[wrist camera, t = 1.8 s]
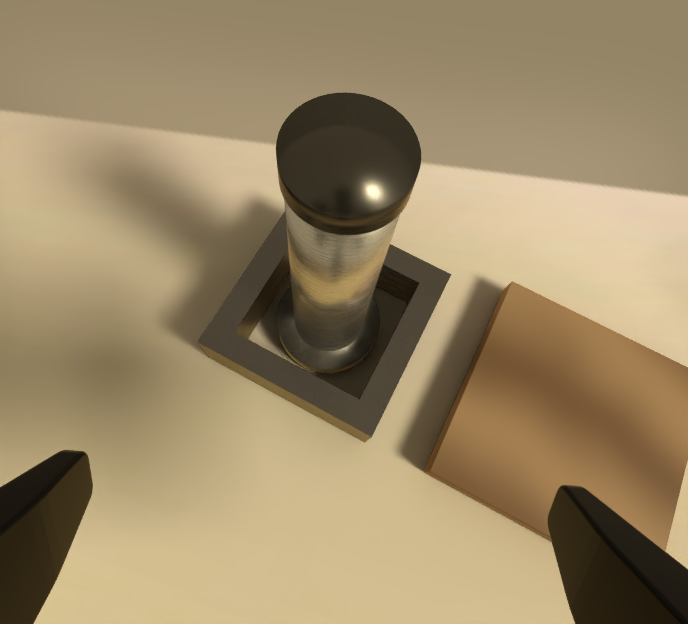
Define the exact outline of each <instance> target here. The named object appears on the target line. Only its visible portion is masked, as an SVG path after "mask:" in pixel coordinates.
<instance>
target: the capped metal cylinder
mask: <svg viewBox="0 0 688 624" xmlns="http://www.w3.org/2000/svg"><path fill="white" fill-rule="evenodd" d="M276 156H277V167H278V177H279V185H280V189H281V192H282V195H283V197H284V200H285V213H286V225H287V237H288V249H289V261H290V273H291V287H290V288H289V289H288V290H287V291H286V293H285V294H284V296H283V298H282V299H281V302H280V304H279V308H278V312H277V326H278V332H279V336H280V340H281V343H282V345H283V347H284V349H285V351H286V352H287V353H288V355H289V356H290V357H291V358H292V359H293V360H294V361H295V362H296V363H298V364H299V365H301V366H302V367H304V368H306V369H309V370H311V371H315V372H319V373H337V372H342V371H345V370H347V369H350V368H352V367H353V366H355V365H357V364H358V363H359V362H361V361H362V360H363V359H364V358H365V357H366V355H367V354H368V353H369V351H370V350H371V348H372V346H373V344H374V341H375V339H376V337H377V334H378V330H379V311H378V307H377V304H376V302H375V300H374V298H373V296H372V295H373V292H374V289H375V286H376V283H377V280H378V277H379V274H380V271H381V269H382V266H383V263H384V260H385V257H386V254H387V251H388V248H389V245H390V242H391V239H392V236H393V233H394V230H395V227H396V224H397V221H398V218H399V215H400V213H401V212H402V211H403V209H404V208H405V206H406V205H407V202H408V200H409V198H410V195H411V192H412V190H413V187H414V184H415V181H416V178H417V175H418V172H419V169H420V164H421V149H420V144H419V141H418V138H417V135H416V133H415V132H414V129H413V128H412V126H411V125H410V123H409V122H408V121H407V120H406V119H405V118H404V116H403V115H401V114H400V113H399V112H398V111H397V110H396V109H394V108H393V107H391V106H390V105H388V104H386V103H384V102H382V101H380V100H378V99H375V98H373V97H369V96H366V95H361V94H356V93H334V94H327V95H323V96H319V97H317V98H314V99H312V100H309V101H307V102H305V103H304V104H302V105H301V106H299V107H298V108H297V109H295V110H294V111H293V112H292V113H291V114H290V115H289V116H288V118H287V119H286V120H285V122H284V123H283V125H282V127H281V129H280V131H279V134H278V138H277V143H276Z"/></svg>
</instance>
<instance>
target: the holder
mask: <svg viewBox="0 0 688 624" xmlns="http://www.w3.org/2000/svg"><path fill="white" fill-rule="evenodd" d="M289 273H290V261H289V249H288V237H287V225H286V213H285V212H284V214H283V215H282V217H281V218H280V220H279V221H278V223H277V224H276V226H275V227H274V229H273V230H272V232H271V233H270V235H269V236H268V238H267V239H266V241H265V242H264V244H263V245H262V247H261V248H260V250H259V251H258V253H257V254H256V256H255V257H254V259H253V260H252V261H251V263H250V264H249V266H248V267H247V269H246V270H245V272H244V273H243V275H242V276H241V278H240V279H239V281H238V282H237V284H236V285H235V287H234V288H233V290H232V291H231V293H230V294H229V296H228V297H227V299H226V300H225V302H224V303H223V305H222V306H221V308H220V309H219V311H218V312H217V314H216V315H215V317H214V318H213V320H212V321H211V323H210V324H209V326H208V327H207V329H206V330H205V332H204V333H203V335H202V336H201V338H200V339H199V341H198V344H199V345H200V346H201V348H202V349H203V350H204V351H205V353H206V354H207V355H208V357H209V358H211V359H213V360H215V361H217V362H219V363H220V364H222V365H224V366H226V367H228V368H230V369H231V370H233V371H235V372H237V373H239V374H241V375H242V376H244V377H246V378H248V379H250V380H252V381H253V382H255V383H257V384H259V385H261V386H263V387H264V388H266V389H268V390H270V391H272V392H273V393H275V394H277V395H279V396H281V397H283V398H284V399H286V400H288V401H290V402H292V403H294V404H295V405H297V406H299V407H301V408H303V409H305V410H306V411H308V412H310V413H312V414H314V415H316V416H317V417H319V418H321V419H323V420H325V421H327V422H328V423H330V424H332V425H334V426H336V427H338V428H339V429H341V430H343V431H345V432H347V433H349V434H350V435H352V436H354V437H356V438H358V439H360V440H361V441H363V442H366V441H367V440H368V439H370V438H371V437H372V435H373V433H374V431H375V429H376V427H377V425H378V423H379V421H380V419H381V417H382V415H383V413H384V411H385V409H386V407H387V405H388V403H389V401H390V399H391V396H392V394H393V392H394V390H395V388H396V386H397V384H398V382H399V380H400V378H401V376H402V374H403V372H404V370H405V368H406V366H407V364H408V362H409V360H410V358H411V356H412V354H413V351H414V349H415V347H416V345H417V343H418V341H419V339H420V337H421V335H422V333H423V331H424V329H425V327H426V325H427V323H428V321H429V319H430V317H431V315H432V313H433V311H434V309H435V306H436V304H437V302H438V300H439V298H440V296H441V294H442V292H443V290H444V288H445V286H446V284H447V282H448V280H449V278H450V276H451V274H449V273H447V272H445V271H443V270H441V269H439V268H437V267H435V266H433V265H431V264H429V263H427V262H425V261H423V260H421V259H419V258H417V257H415V256H413V255H411V254H409V253H407V252H405V251H403V250H401V249H399V248H397V247H395V246H393V245H391V244H390V245H389V248H388V251H387V254H386V257H385V260H384V263H383V266H382V269H381V271H380V274H379V277H378V280H377V283H376V286H377V287H379V288H381V289H383V290H385V291H387V292H389V293H391V294H393V295H395V296H397V297H399V298H401V299H403V300H404V301H406V302H408V305H407V307H406V309H405V311H404V313H403V315H402V317H401V319H400V321H399V323H398V325H397V327H396V329H395V331H394V332H393V334H392V336H391V338H390V340H389V342H388V344H387V346H386V348H385V350H384V352H383V354H382V356H381V358H380V360H379V362H378V364H377V366H376V368H375V369H374V371H373V373H372V375H371V377H370V379H369V381H368V383H367V385H366V387H365V389H364V391H363V393H362V395H361V397H360V399H357V398H356V397H354V396H352V395H350V394H348V393H346V392H344V391H342V390H341V389H339V388H337V387H335V386H333V385H331V384H329V383H328V382H326V381H324V380H322V379H320V378H318V377H316V376H315V375H313V374H311V373H309V372H307V371H305V370H303V369H302V368H300V367H298V366H296V365H294V364H292V363H290V362H288V361H287V360H285V359H283V358H281V357H279V356H277V355H275V354H274V353H272V352H270V351H268V350H266V349H264V348H262V347H261V346H259V345H257V344H255V343H253V342H251V341H249V340H248V338H249V336H250V334H251V333H252V331H253V330H254V328H255V327H256V325H257V323H258V322H259V320H260V319H261V317H262V315H263V314H264V312H265V311H266V309H267V308H268V306H269V304H270V303H271V301H272V300H273V298H274V296H275V295H276V293H277V292H278V290H279V288H280V287H281V285H282V284H283V282H284V281H285V279H286V277H287V276H288V274H289Z"/></svg>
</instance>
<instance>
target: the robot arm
mask: <svg viewBox="0 0 688 624" xmlns="http://www.w3.org/2000/svg"><path fill="white" fill-rule="evenodd" d="M92 490H93V482H92V476H91V470H90V464H89V458H88V455H87V454H86V453H85V452H83V451H73V450H63V451H60V452H58V453H56V454H55V455H53V456H51V457H50V458H48V459H46V460H45V461H43V462H41V463H40V464H38V465H36V466H35V467H33V468H31V469H30V470H28V471H26V472H25V473H23V474H22V475H20V476H18V477H17V478H15V479H13V480H12V481H10V482H8V483H7V484H5V485H3V486H2V487H0V624H33V623H34V621H35V620H36V618H37V616H38V614H39V612H40V610H41V608H42V606H43V605H44V603H45V601H46V599H47V597H48V595H49V593H50V591H51V589H52V587H53V585H54V584H55V582H56V580H57V577H58V575H59V573H60V571H61V568H62V566H63V564H64V561H65V559H66V556H67V554H68V552H69V549H70V547H71V544H72V542H73V539H74V537H75V534H76V532H77V530H78V527H79V525H80V522H81V520H82V517H83V515H84V513H85V510H86V508H87V505H88V503H89V500H90V498H91V495H92ZM547 523H548V529H549V533H550V537H551V541H552V545H553V548H554V552H555V556H556V559H557V563H558V567H559V571H560V574H561V578H562V582H563V586H564V589H565V593H566V597H567V600H568V604H569V607H570V610H571V613H572V616H573V619H574V621H575V624H688V569H687V568H685V567H684V566H683V565H682V564H680V563H679V562H678V561H677V560H675V559H674V558H673V557H671V556H670V555H669V554H668V553H666V552H665V551H664V550H663V549H661V548H660V547H659V546H658V545H656V544H655V543H654V542H653V541H651V540H650V539H649V538H647V537H646V536H645V535H644V534H642V533H641V532H640V531H639V530H637V529H636V528H635V527H634V526H632V525H631V524H630V523H628V522H627V521H626V520H625V519H623V518H622V517H621V516H620V515H618V514H617V513H616V512H615V511H613V510H612V509H611V508H610V507H608V506H607V505H606V504H604V503H603V502H602V501H601V500H599V499H598V498H597V497H596V496H594V495H593V494H592V493H591V492H589V491H588V490H587V489H585V488H584V487H581V486H573V485H562V486H560V487H559V488H558V490H557V492H556V495H555V498H554V500H553V503H552V505H551V508H550V511H549V513H548V519H547Z"/></svg>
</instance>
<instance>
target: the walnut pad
mask: <svg viewBox="0 0 688 624" xmlns="http://www.w3.org/2000/svg"><path fill="white" fill-rule="evenodd" d="M687 460H688V367H686V366H683V365H681V364H679V363H677V362H675V361H673V360H671V359H669V358H667V357H665V356H663V355H661V354H659V353H657V352H655V351H653V350H651V349H649V348H647V347H645V346H643V345H641V344H639V343H637V342H635V341H633V340H631V339H629V338H627V337H625V336H622V335H620V334H618V333H616V332H614V331H612V330H610V329H608V328H606V327H604V326H602V325H600V324H598V323H596V322H594V321H592V320H590V319H588V318H586V317H584V316H582V315H580V314H578V313H576V312H574V311H572V310H570V309H568V308H566V307H564V306H562V305H559V304H557V303H555V302H553V301H551V300H549V299H547V298H545V297H543V296H541V295H539V294H537V293H535V292H533V291H531V290H529V289H527V288H525V287H523V286H521V285H519V284H517V283H515V282H513V281H512V282H511V283H510V284H509V285H508V286H507V287H506V288H505V289H504V290H503V292H502V294H501V296H500V299H499V301H498V303H497V305H496V308H495V310H494V312H493V315H492V317H491V319H490V321H489V324H488V326H487V328H486V331H485V333H484V335H483V337H482V340H481V342H480V344H479V347H478V349H477V351H476V353H475V356H474V358H473V360H472V363H471V365H470V367H469V369H468V372H467V374H466V376H465V378H464V381H463V383H462V385H461V388H460V390H459V392H458V394H457V397H456V399H455V401H454V404H453V406H452V408H451V410H450V413H449V415H448V417H447V420H446V422H445V424H444V426H443V429H442V431H441V433H440V436H439V438H438V440H437V442H436V445H435V447H434V449H433V452H432V454H431V456H430V458H429V461H428V463H427V465H426V468H425V470H424V472H425V473H427V474H428V475H430V476H432V477H434V478H436V479H438V480H439V481H441V482H443V483H445V484H447V485H449V486H450V487H452V488H454V489H456V490H458V491H460V492H461V493H463V494H465V495H467V496H469V497H471V498H472V499H474V500H476V501H478V502H480V503H482V504H483V505H485V506H487V507H489V508H491V509H493V510H494V511H496V512H498V513H500V514H502V515H504V516H505V517H507V518H509V519H511V520H513V521H514V522H516V523H518V524H520V525H522V526H524V527H525V528H527V529H529V530H531V531H533V532H535V533H536V534H538V535H540V536H542V537H544V538H546V539H547V540H549V541H551V537H550V533H549V529H548V523H547V519H548V513H549V511H550V508H551V505H552V503H553V500H554V498H555V495H556V492H557V490H558V488H559V487H560V486H562V485H573V486H581V487H584V488H585V489H587V490H588V491H589V492H591V493H592V494H593V495H594V496H596V497H597V498H598V499H599V500H601V501H602V502H603V503H604V504H606V505H607V506H608V507H610V508H611V509H612V510H613V511H615V512H616V513H617V514H618V515H620V516H621V517H622V518H623V519H625V520H626V521H627V522H628V523H630V524H631V525H632V526H634V527H635V528H636V529H637V530H639V531H640V532H641V533H642V534H644V535H645V536H646V537H647V538H649V539H650V540H651V541H653V542H654V543H655V544H656V545H658V546H659V547H660V548H661V549H663V550H664V551H665V550H666V546H667V542H668V538H669V534H670V530H671V525H672V521H673V517H674V513H675V509H676V505H677V501H678V497H679V493H680V489H681V484H682V480H683V476H684V472H685V468H686V464H687ZM551 542H552V541H551Z"/></svg>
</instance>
